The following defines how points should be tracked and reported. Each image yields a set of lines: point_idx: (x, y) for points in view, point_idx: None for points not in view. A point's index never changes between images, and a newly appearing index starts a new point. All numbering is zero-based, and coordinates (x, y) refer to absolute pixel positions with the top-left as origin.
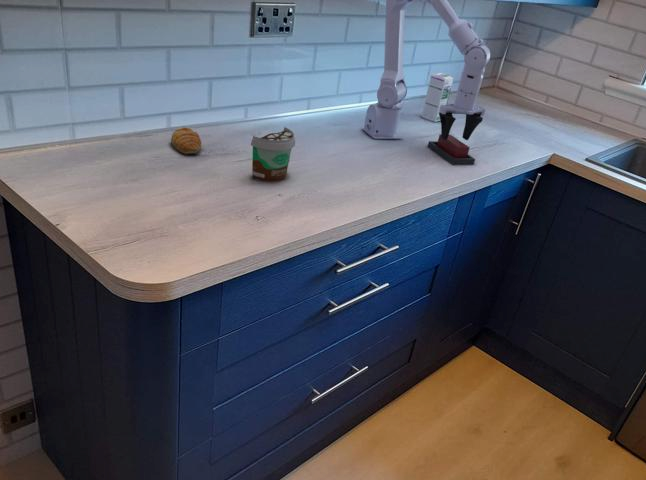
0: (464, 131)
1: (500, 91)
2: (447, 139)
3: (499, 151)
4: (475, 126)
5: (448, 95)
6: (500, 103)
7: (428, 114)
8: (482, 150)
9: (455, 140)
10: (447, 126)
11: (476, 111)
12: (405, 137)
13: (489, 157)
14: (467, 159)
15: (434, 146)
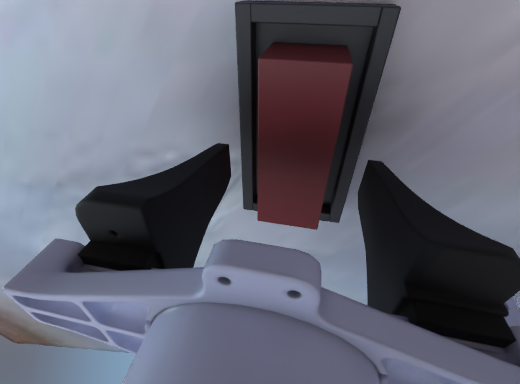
0: (219, 195)
1: (8, 335)
2: (324, 180)
3: (53, 136)
4: (164, 176)
5: None
6: (12, 315)
7: None
8: (120, 152)
9: (283, 163)
10: (438, 211)
11: (129, 280)
12: (359, 268)
13: (112, 87)
14: (293, 3)
15: (348, 186)
